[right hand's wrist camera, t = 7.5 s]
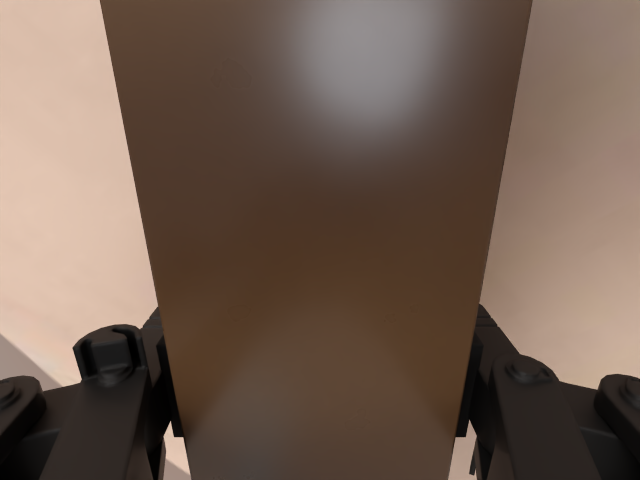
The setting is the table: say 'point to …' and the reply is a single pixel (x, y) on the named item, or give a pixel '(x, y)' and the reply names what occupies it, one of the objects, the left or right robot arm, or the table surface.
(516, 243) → the table surface
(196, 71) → the beam
